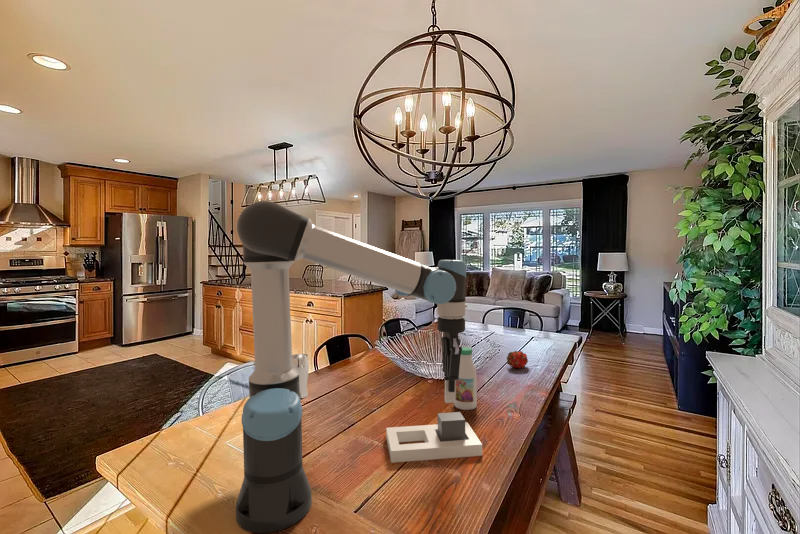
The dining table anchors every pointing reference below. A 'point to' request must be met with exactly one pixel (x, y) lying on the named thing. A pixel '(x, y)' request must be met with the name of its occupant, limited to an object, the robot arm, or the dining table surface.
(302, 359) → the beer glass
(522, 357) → the dragon fruit
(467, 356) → the milk bottle
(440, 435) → the plug
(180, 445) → the dining table surface
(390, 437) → the socket plate
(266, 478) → the robot arm
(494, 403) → the dining table surface
